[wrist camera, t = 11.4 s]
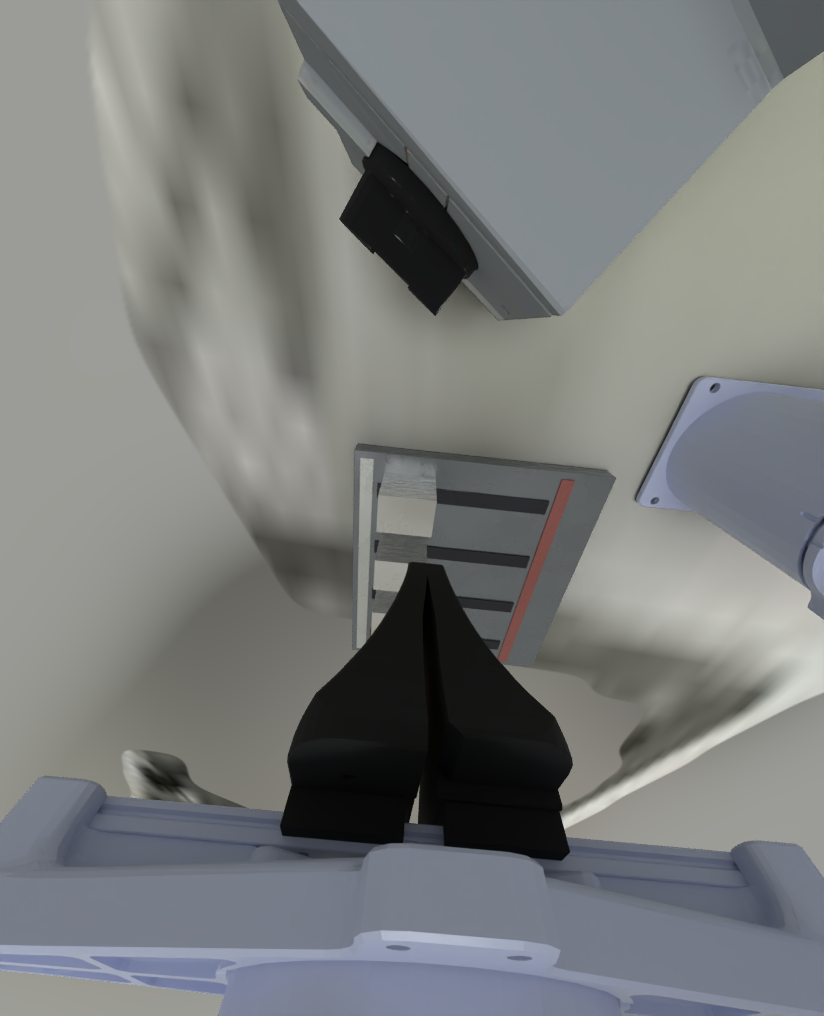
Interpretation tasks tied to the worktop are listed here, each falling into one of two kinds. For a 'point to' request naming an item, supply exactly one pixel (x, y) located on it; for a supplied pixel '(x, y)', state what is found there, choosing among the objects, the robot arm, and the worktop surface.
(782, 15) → the circuit breaker
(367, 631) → the breaker panel
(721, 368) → the worktop surface
